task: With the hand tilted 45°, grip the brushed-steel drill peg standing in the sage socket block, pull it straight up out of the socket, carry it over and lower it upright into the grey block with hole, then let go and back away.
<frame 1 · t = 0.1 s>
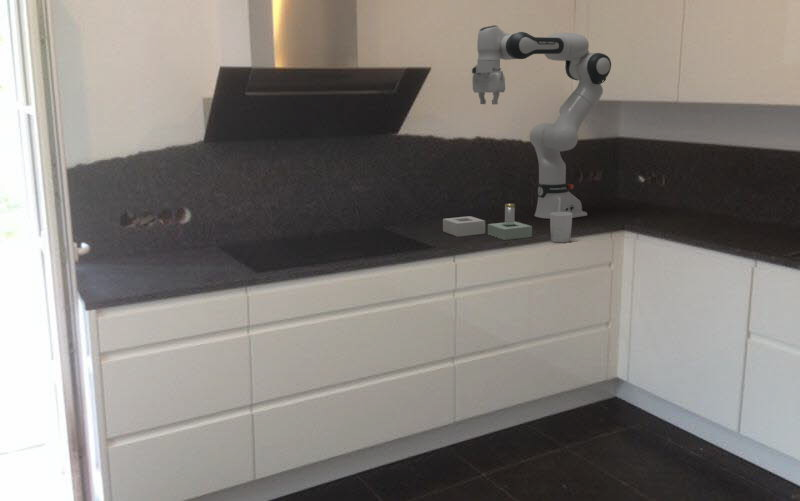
hand: (488, 104, 296), 48 cm above the worktop, tool pointing down, fingers open, 8 cm apart
white cup: (560, 241, 269), on the worktop
grey block with hole: (463, 232, 288), on the worktop
drill peg: (509, 220, 279), in the socket block
socket block: (509, 235, 280), on the worktop
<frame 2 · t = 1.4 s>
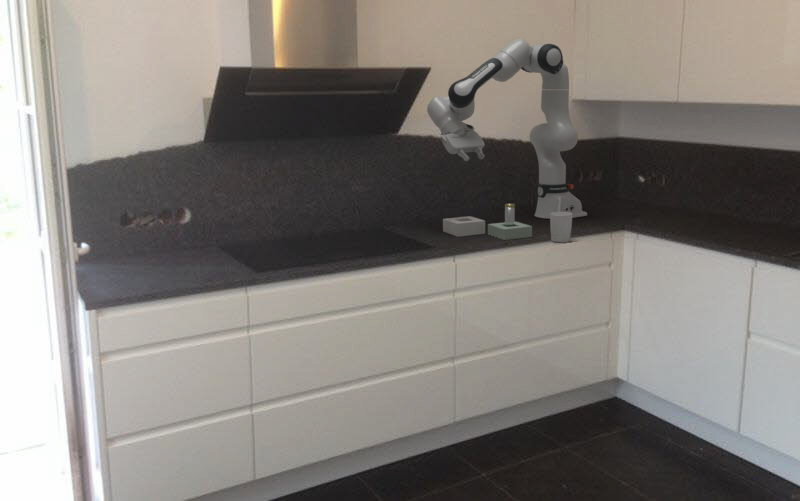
hand: (475, 158, 285), 28 cm above the worktop, tool tilted 45°, fingers open, 8 cm apart
nothing on the worktop moved.
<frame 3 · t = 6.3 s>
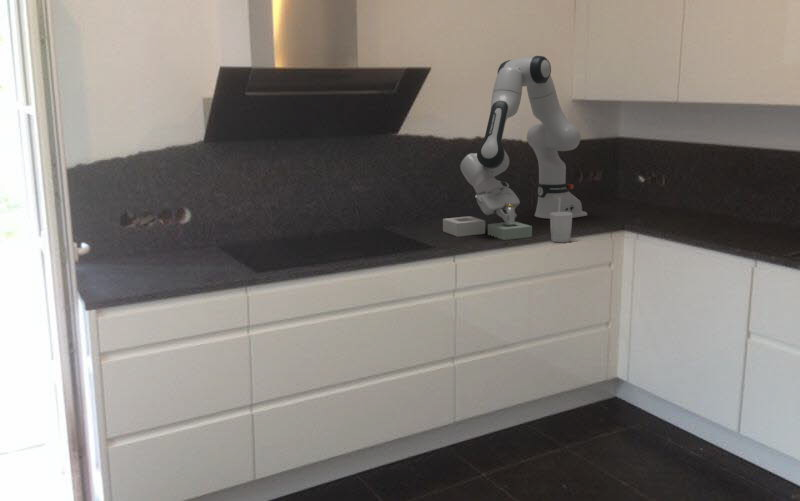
hand: (511, 218, 278), 7 cm above the worktop, tool tilted 45°, fingers closed on drill peg, 4 cm apart
drill peg: (509, 220, 279), in the socket block, touching gripper
everything else where it was.
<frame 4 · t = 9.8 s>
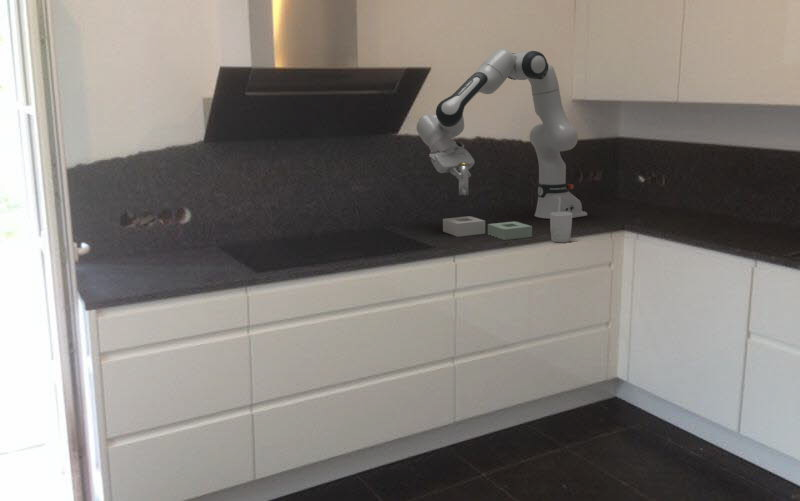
hand: (464, 177, 283), 21 cm above the worktop, tool tilted 45°, fingers closed on drill peg, 4 cm apart
drill peg: (463, 178, 284), point 21 cm above the worktop, touching gripper
everything else where it was.
when the fingers open (8 cm above the worktop, at t = 13.2 s): drill peg drops 1 cm, resting in grey block with hole.
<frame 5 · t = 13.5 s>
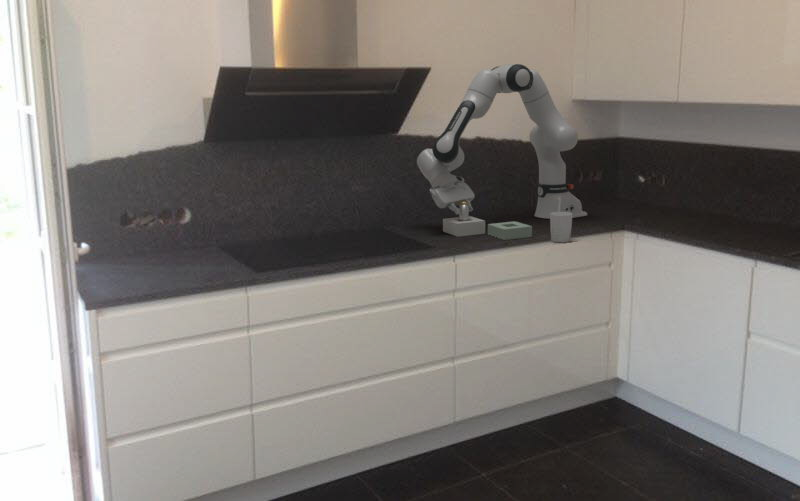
hand: (465, 212, 286), 8 cm above the worktop, tool tilted 45°, fingers open, 6 cm apart
drill peg: (463, 217, 287), in the grey block with hole
everything else where it was.
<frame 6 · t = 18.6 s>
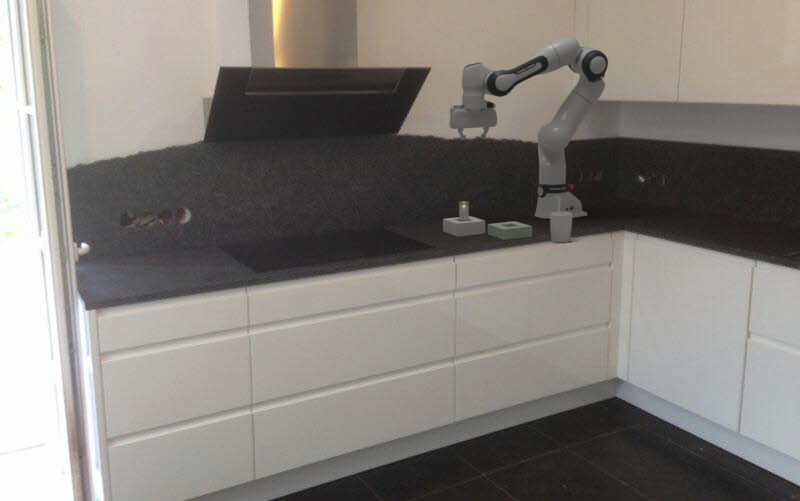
hand: (473, 139, 302), 34 cm above the worktop, tool pointing down, fingers open, 8 cm apart
nothing on the worktop moved.
at the end: drill peg 0.1 cm off-centre on the grey block with hole, point 6.0 cm above the grey block with hole's base; drill peg tilted 0°; the gripper is holding nothing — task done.
